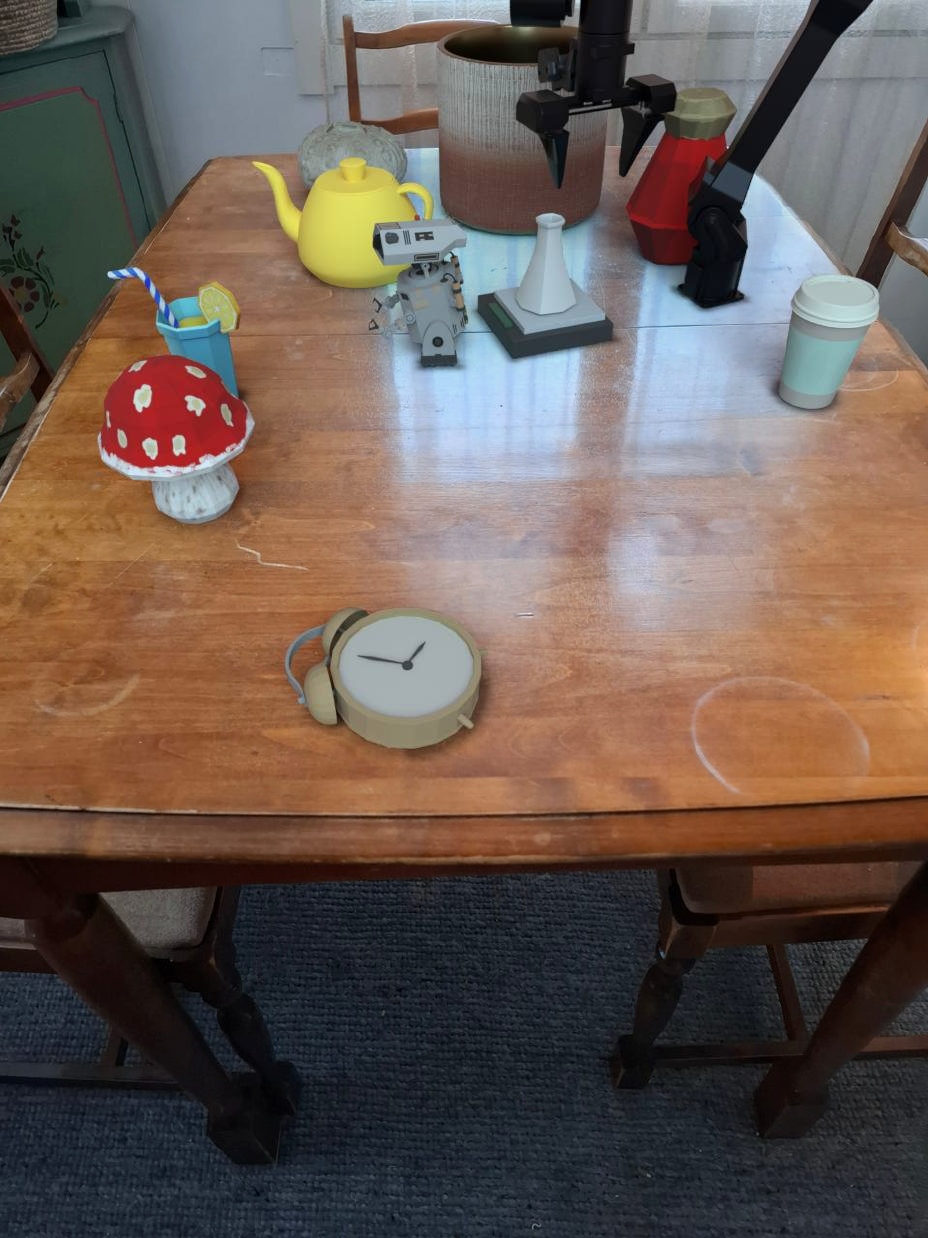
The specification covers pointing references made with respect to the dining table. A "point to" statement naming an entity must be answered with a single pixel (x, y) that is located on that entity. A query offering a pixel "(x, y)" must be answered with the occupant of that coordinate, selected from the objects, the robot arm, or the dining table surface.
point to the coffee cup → (825, 336)
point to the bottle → (678, 174)
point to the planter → (509, 133)
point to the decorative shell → (349, 150)
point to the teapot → (346, 221)
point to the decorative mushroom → (176, 435)
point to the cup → (197, 324)
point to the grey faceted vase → (547, 271)
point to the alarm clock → (393, 675)
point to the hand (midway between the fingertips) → (590, 181)
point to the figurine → (425, 284)
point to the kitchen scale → (543, 323)
